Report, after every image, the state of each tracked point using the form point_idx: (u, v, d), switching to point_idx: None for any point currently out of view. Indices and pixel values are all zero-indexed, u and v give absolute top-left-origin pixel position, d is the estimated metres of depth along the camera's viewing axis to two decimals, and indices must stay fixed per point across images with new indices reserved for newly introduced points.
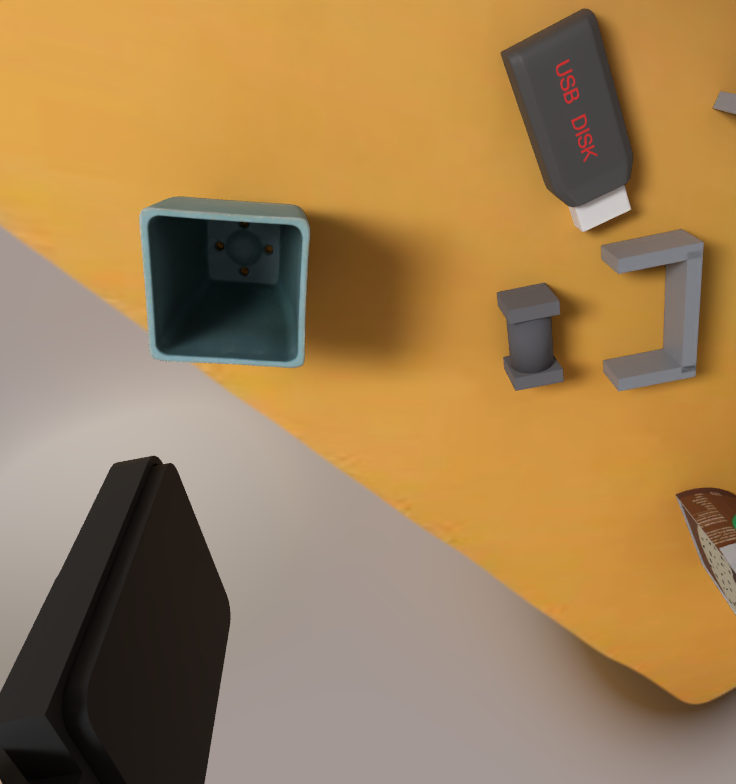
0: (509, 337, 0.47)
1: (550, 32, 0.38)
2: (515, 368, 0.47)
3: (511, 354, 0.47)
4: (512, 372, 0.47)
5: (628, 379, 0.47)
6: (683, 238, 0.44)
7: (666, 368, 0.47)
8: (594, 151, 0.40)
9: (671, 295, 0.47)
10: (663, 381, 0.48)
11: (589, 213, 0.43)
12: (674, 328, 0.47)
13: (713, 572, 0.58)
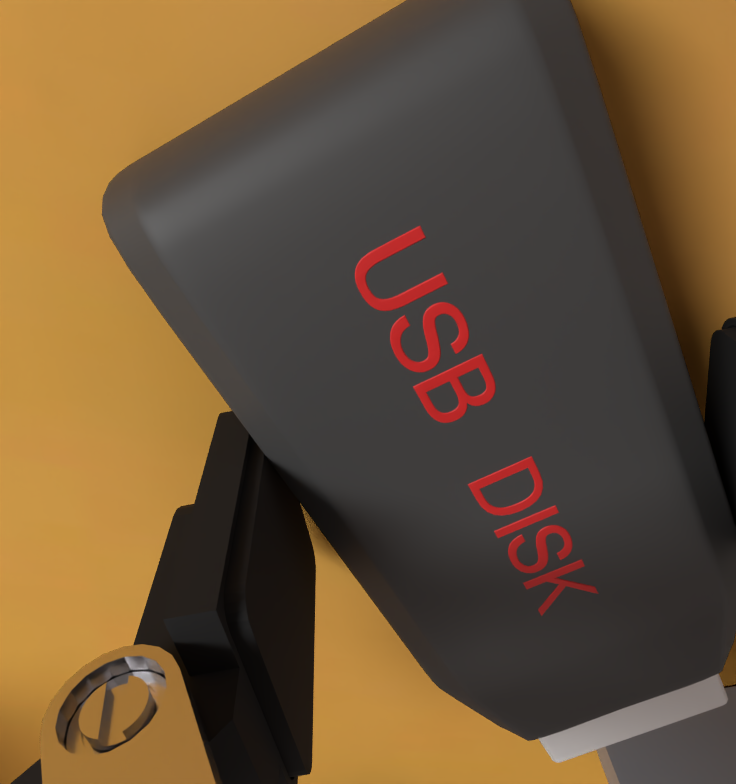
0: None
1: (307, 78, 0.07)
2: None
3: None
4: None
5: None
6: None
7: None
8: (586, 579, 0.09)
9: None
10: None
11: None
12: None
13: None
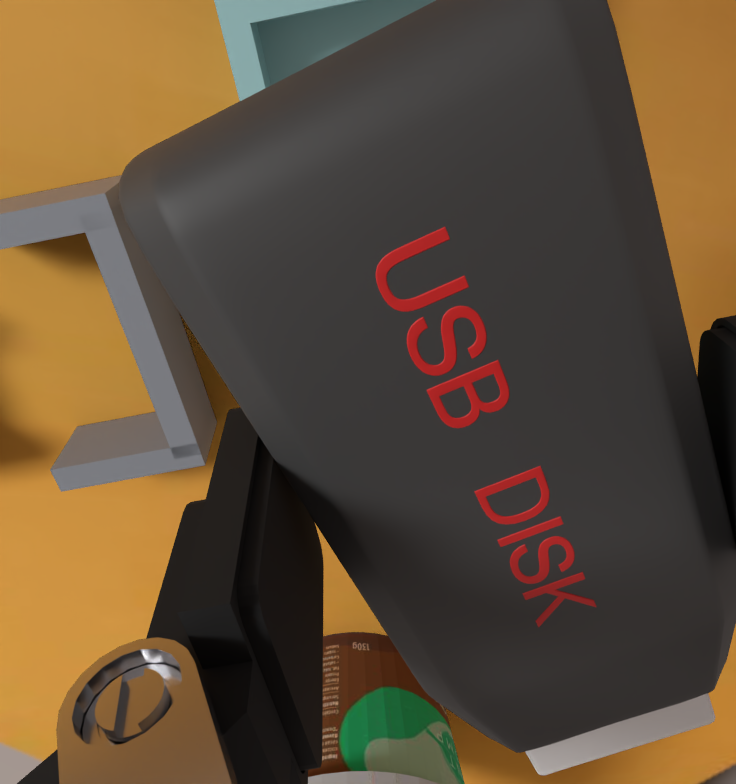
0: None
1: (337, 70, 0.06)
2: None
3: None
4: None
5: (72, 469, 0.24)
6: (95, 188, 0.21)
7: (145, 448, 0.24)
8: (585, 592, 0.09)
9: None
10: (144, 473, 0.25)
11: None
12: None
13: None
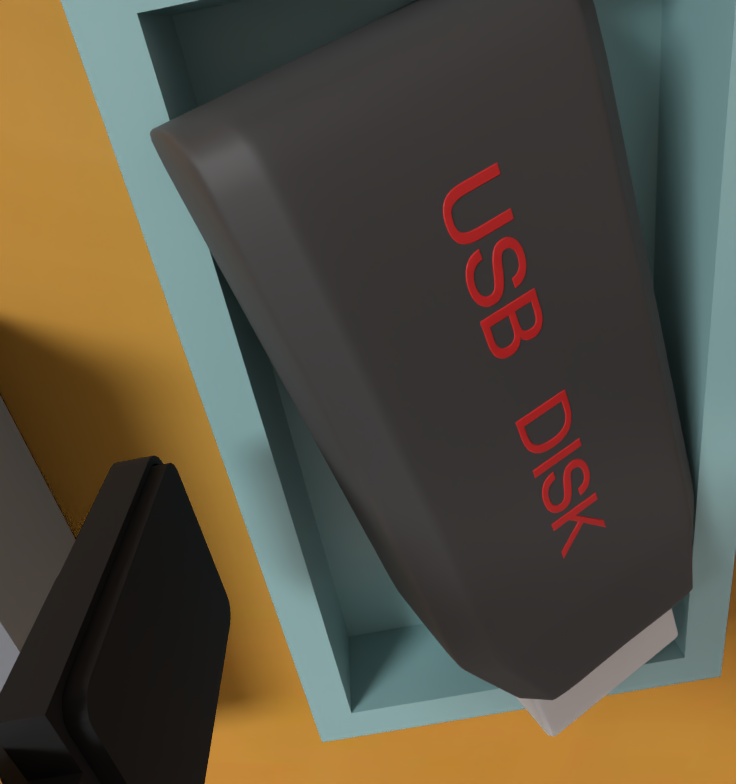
0: None
1: (389, 32, 0.07)
2: None
3: None
4: None
5: None
6: None
7: None
8: (597, 513, 0.10)
9: None
10: None
11: None
12: None
13: None
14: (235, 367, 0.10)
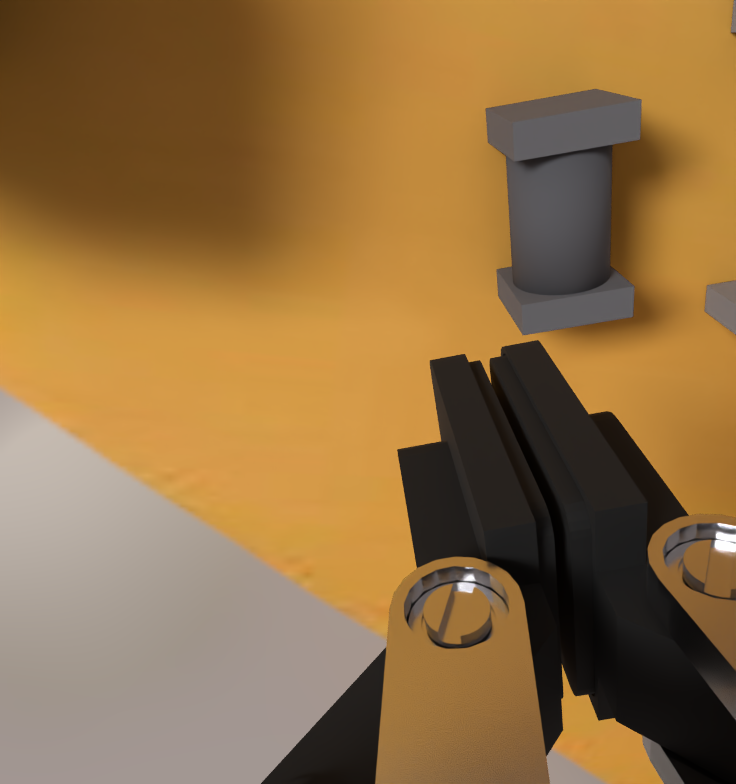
0: (512, 210, 0.20)
1: None
2: (523, 285, 0.21)
3: (515, 253, 0.21)
4: (516, 294, 0.21)
5: None
6: None
7: None
8: None
9: None
10: None
11: None
12: None
13: None
14: None
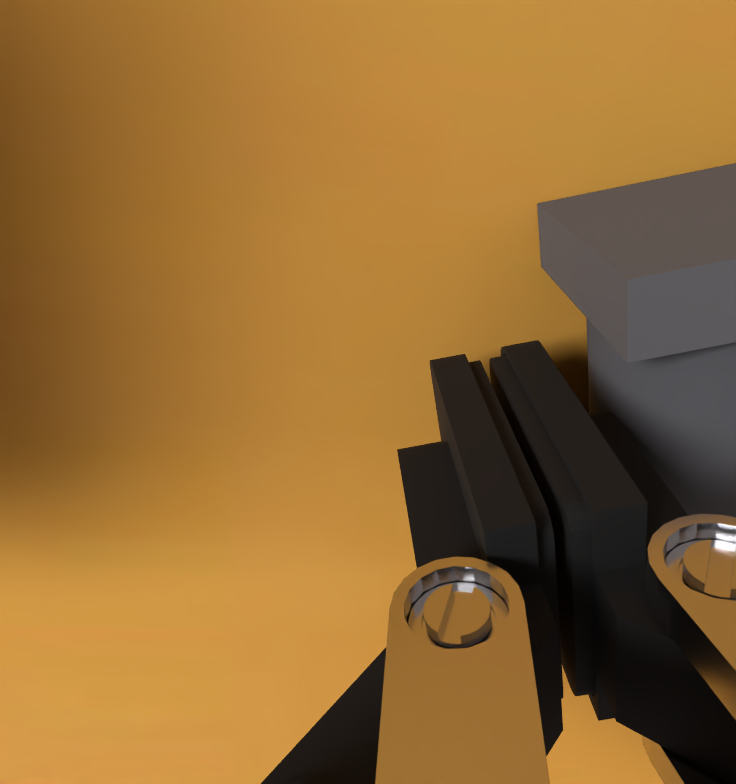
0: None
1: None
2: None
3: None
4: None
5: None
6: None
7: None
8: None
9: None
10: None
11: None
12: None
13: None
14: None
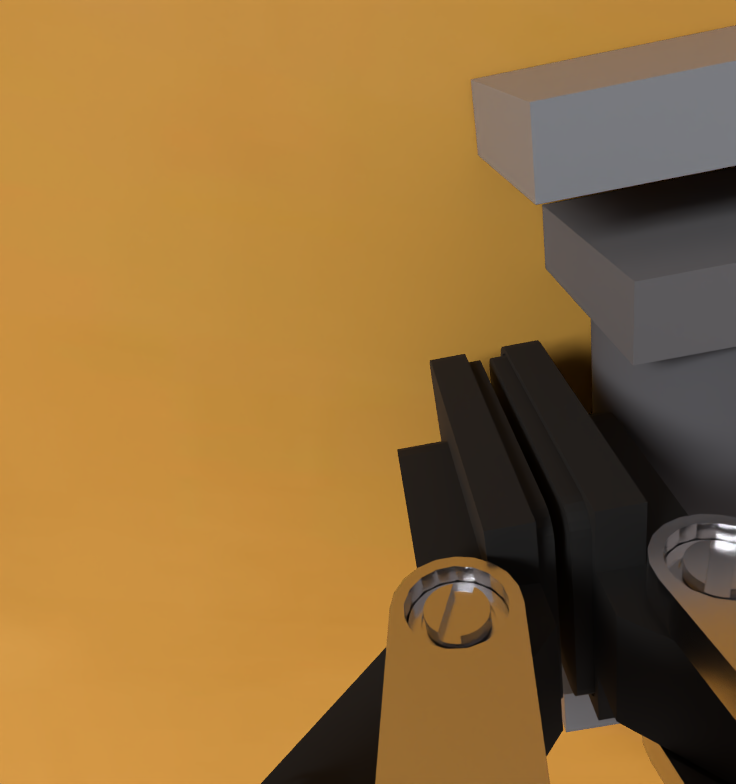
0: None
1: None
2: None
3: None
4: None
5: None
6: None
7: None
8: None
9: None
10: None
11: None
12: None
13: None
14: None
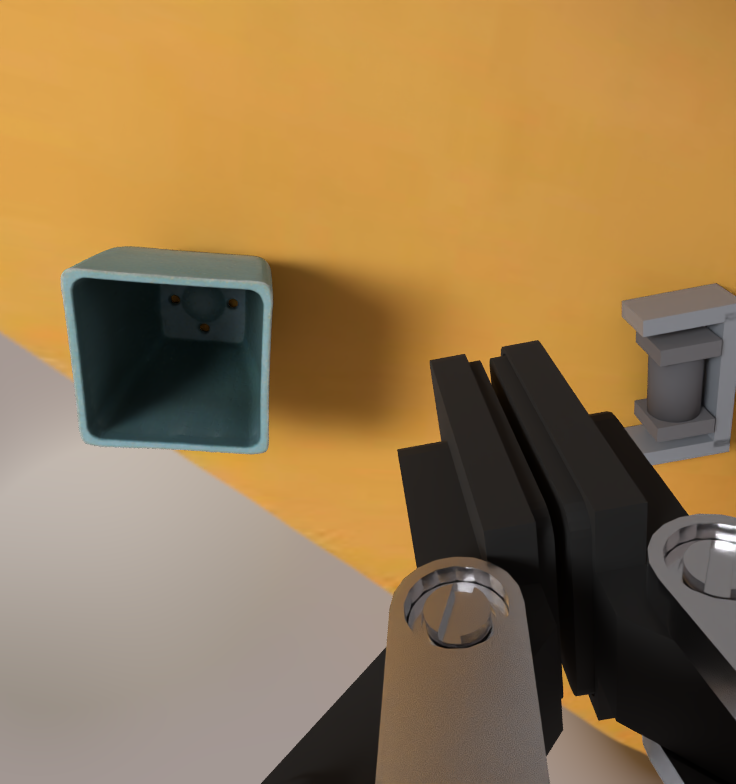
0: (651, 380, 0.40)
1: None
2: (655, 416, 0.40)
3: (651, 399, 0.40)
4: (652, 420, 0.40)
5: (651, 454, 0.41)
6: (719, 296, 0.37)
7: (695, 441, 0.41)
8: None
9: None
10: (691, 456, 0.41)
11: None
12: (705, 396, 0.41)
13: None
14: None
